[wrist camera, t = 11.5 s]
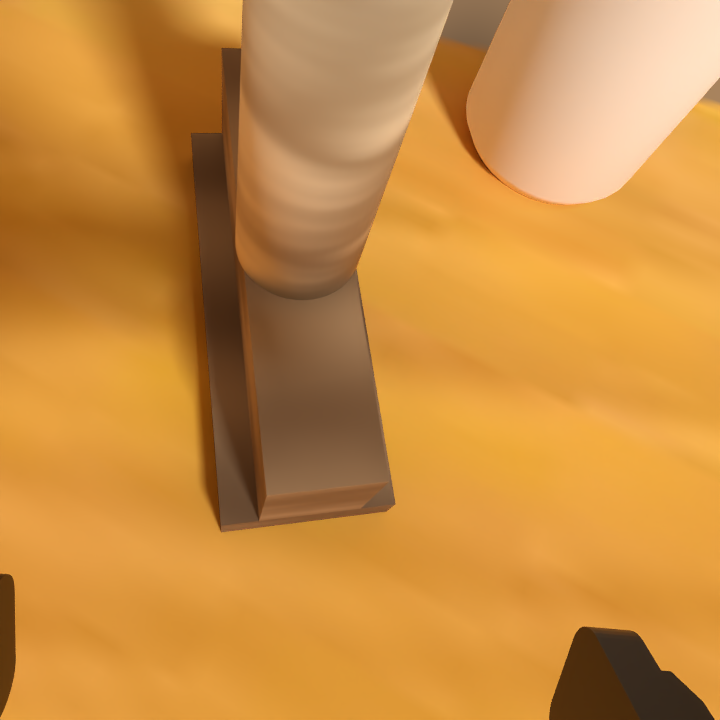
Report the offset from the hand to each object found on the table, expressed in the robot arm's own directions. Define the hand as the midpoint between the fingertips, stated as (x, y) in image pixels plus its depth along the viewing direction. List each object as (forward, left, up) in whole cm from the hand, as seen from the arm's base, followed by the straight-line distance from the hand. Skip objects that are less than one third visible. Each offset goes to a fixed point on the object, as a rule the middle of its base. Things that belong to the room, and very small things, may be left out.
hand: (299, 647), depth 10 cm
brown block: (-2, -12, -14) cm, 19 cm away
